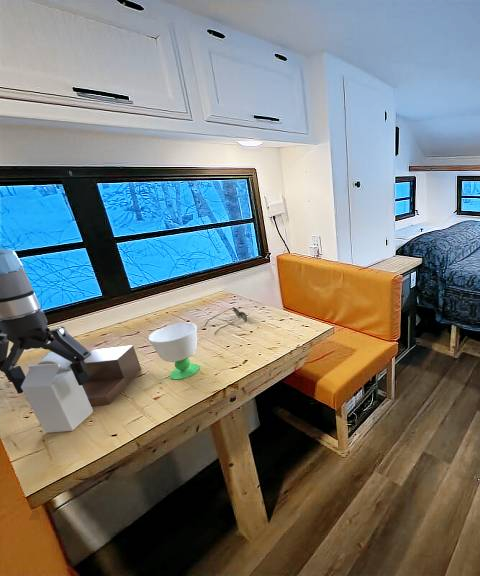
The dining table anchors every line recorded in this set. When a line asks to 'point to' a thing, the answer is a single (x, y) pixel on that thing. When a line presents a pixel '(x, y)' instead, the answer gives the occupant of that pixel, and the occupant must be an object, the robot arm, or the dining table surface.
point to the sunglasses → (236, 314)
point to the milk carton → (56, 397)
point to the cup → (177, 347)
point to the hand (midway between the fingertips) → (54, 386)
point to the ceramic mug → (55, 360)
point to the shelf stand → (109, 373)
